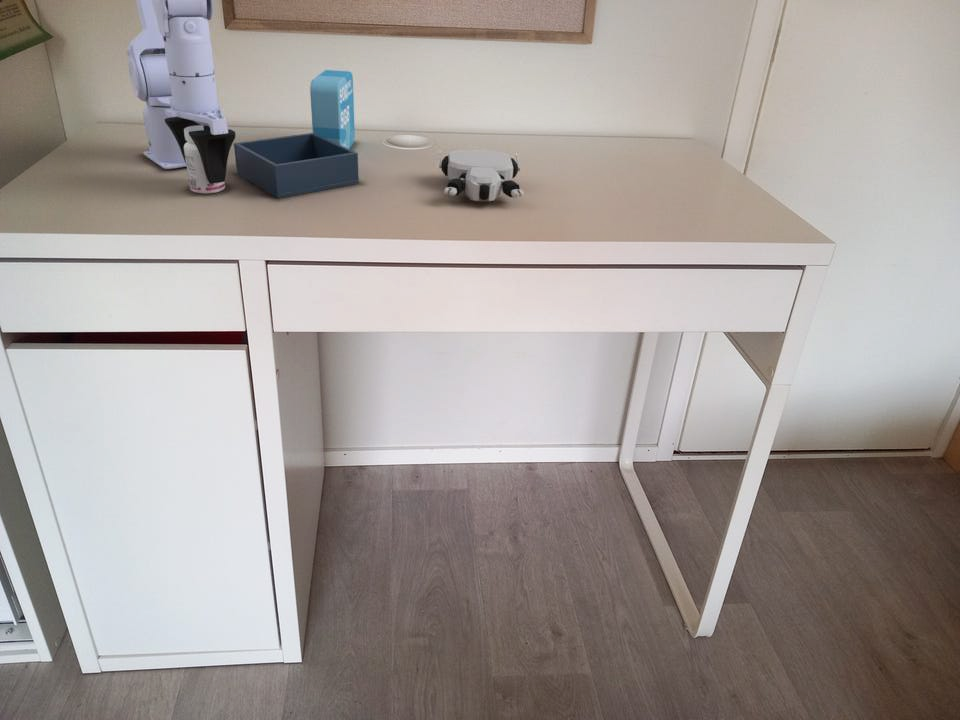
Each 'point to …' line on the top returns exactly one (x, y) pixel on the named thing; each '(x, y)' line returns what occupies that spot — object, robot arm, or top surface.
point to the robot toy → (480, 174)
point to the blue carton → (333, 107)
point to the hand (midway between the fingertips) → (206, 175)
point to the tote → (296, 164)
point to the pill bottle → (197, 166)
